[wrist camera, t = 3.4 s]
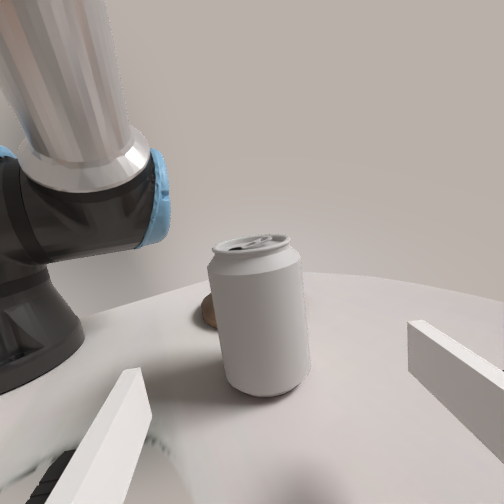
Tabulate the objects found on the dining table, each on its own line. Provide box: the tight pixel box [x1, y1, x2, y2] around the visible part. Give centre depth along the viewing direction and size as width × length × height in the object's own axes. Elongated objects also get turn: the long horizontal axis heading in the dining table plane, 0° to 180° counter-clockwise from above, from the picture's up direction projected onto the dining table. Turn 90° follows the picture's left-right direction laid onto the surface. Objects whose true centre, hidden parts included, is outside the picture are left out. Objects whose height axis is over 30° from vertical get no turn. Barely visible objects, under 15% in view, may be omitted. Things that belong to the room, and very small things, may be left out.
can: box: [207, 234, 311, 397], centre depth 23 cm, size 8×8×12 cm
